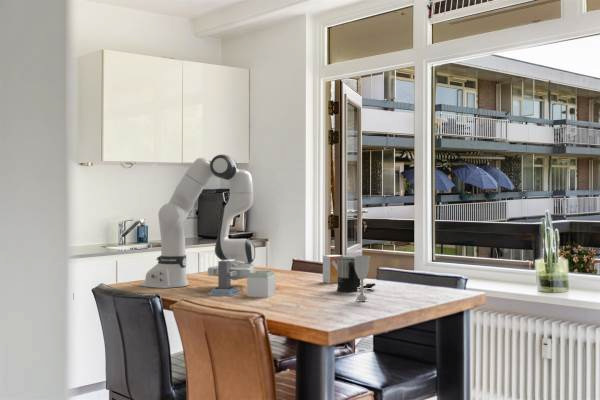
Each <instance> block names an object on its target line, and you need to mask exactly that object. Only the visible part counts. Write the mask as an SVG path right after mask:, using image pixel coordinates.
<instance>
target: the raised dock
mask: <svg viewBox="0 0 600 400" xmlns="http://www.w3.org/2000/svg"><path fill="white" fill-rule="evenodd" d="M274 295H276V275H275V271H274V270H260V269H254V271H252V272H249V273H248V277H247V278H246V297H248V298H249V297H250V298H252V297H253V298H270V297H272V296H274Z"/></svg>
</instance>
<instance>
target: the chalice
mask: <svg viewBox="0 0 600 400" xmlns="http://www.w3.org/2000/svg"><path fill="white" fill-rule="evenodd" d="M353 257H354V259H355V271H356V274H357V276H358V278H359V279H360V287H361V288H360V287H359V288H360V289H359V290H360V294H358V295H357V297H356V300H359V301H365V300H368V297H367V295H366V294H365V293H364V290H365V288H363V286H365V283H364V280H365V279H366V278H367V277H368V274H369V270H370V258H371V256H370V255H354V256H353Z"/></svg>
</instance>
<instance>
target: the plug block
mask: <svg viewBox="0 0 600 400" xmlns="http://www.w3.org/2000/svg"><path fill="white" fill-rule="evenodd" d="M230 262H231V260H219V261H218V263H217V266H218V276H217V277H218V278H217V279H218V283H217V284H218V286H217V287H218V289H230V288H231V286H232V285H231V284H232V283H231V281H232V279H231V276H228V272H231V266H230Z"/></svg>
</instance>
